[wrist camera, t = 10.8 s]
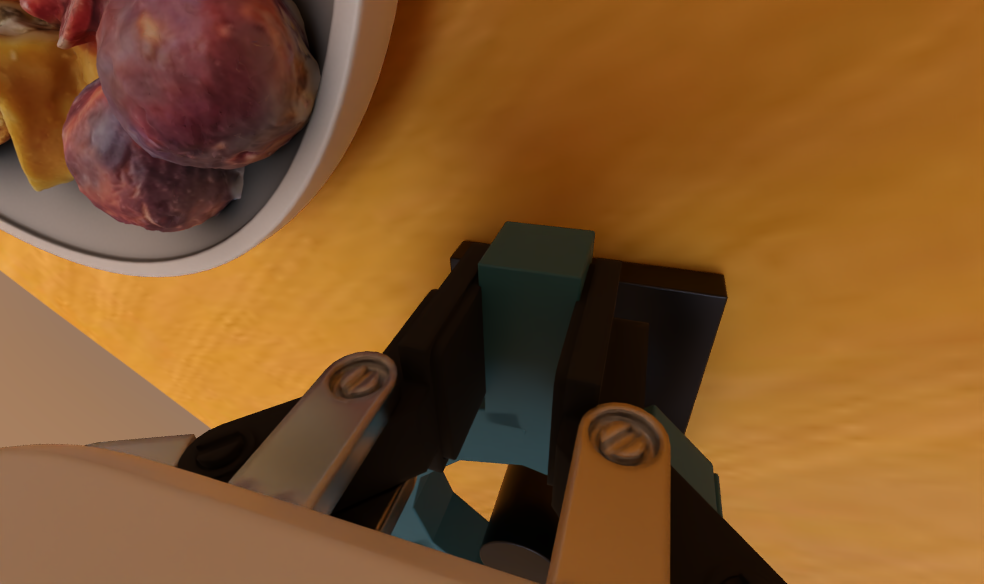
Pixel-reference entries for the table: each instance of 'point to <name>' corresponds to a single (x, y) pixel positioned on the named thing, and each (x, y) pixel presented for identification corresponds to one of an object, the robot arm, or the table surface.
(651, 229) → the table surface
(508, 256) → the ring
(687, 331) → the ring stand
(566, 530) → the robot arm
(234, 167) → the bowl
